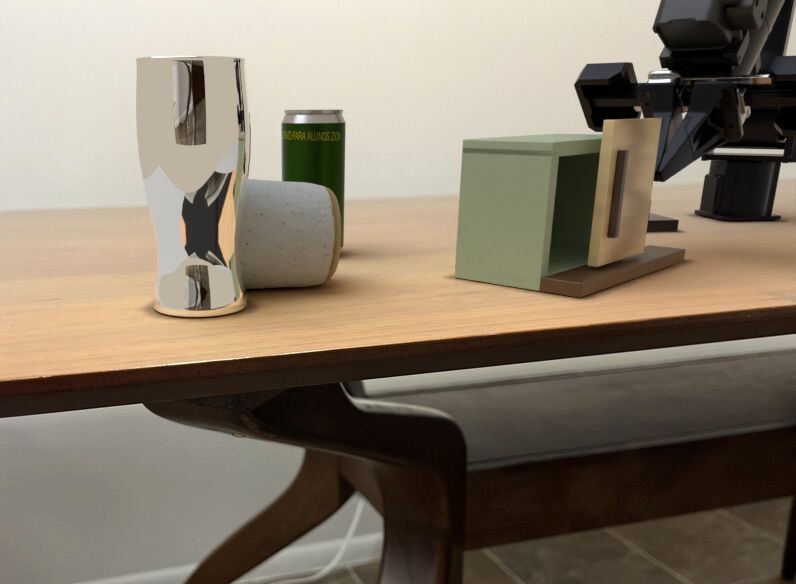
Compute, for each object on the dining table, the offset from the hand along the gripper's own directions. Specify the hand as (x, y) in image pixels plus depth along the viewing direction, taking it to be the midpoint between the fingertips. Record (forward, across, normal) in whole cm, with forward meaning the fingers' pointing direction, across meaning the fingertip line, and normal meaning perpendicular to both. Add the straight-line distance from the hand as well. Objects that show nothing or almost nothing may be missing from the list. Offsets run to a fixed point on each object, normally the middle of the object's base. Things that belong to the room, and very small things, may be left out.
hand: (657, 178), depth 63 cm
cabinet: (+9, -3, +1) cm, 9 cm away
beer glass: (+29, -15, -19) cm, 37 cm away
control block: (-8, -11, +18) cm, 22 cm away
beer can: (+15, -23, -5) cm, 28 cm away
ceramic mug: (+23, -17, -13) cm, 31 cm away
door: (+8, 0, 0) cm, 8 cm away
